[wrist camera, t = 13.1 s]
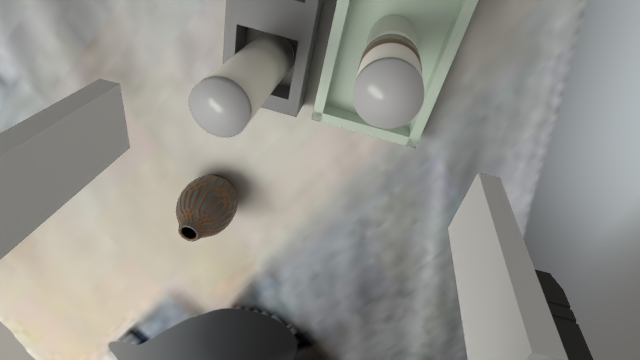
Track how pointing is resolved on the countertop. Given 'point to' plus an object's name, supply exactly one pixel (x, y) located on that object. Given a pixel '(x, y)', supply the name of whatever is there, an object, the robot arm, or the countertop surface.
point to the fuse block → (283, 20)
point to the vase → (205, 207)
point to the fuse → (240, 85)
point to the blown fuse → (389, 75)
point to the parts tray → (348, 46)
